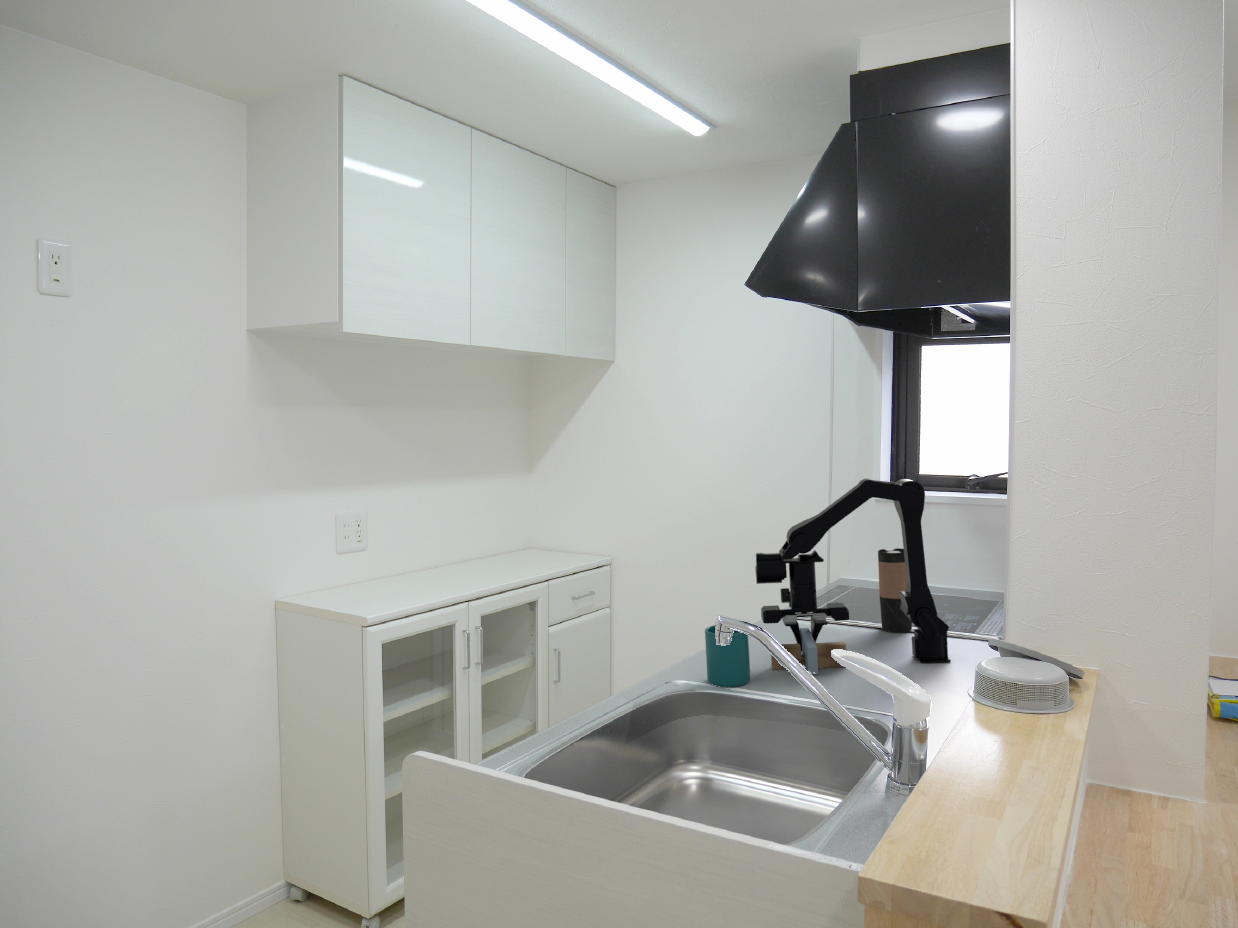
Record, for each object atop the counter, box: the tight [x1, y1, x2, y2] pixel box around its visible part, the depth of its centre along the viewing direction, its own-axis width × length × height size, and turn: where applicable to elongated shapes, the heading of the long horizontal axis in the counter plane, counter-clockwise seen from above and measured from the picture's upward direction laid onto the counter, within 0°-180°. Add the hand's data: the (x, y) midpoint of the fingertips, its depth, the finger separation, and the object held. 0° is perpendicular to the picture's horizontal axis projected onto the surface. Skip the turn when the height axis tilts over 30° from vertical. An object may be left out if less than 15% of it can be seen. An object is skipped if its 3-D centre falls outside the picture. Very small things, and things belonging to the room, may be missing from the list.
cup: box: [704, 624, 751, 688], centre depth 174 cm, size 9×12×11 cm
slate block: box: [799, 627, 819, 675], centre depth 180 cm, size 12×2×6 cm, turn 176°
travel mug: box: [877, 547, 913, 634], centre depth 206 cm, size 8×8×20 cm
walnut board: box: [770, 641, 847, 671], centre depth 180 cm, size 16×2×5 cm, turn 85°
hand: (806, 650), depth 184 cm, fingers closed on slate block, 2 cm apart
